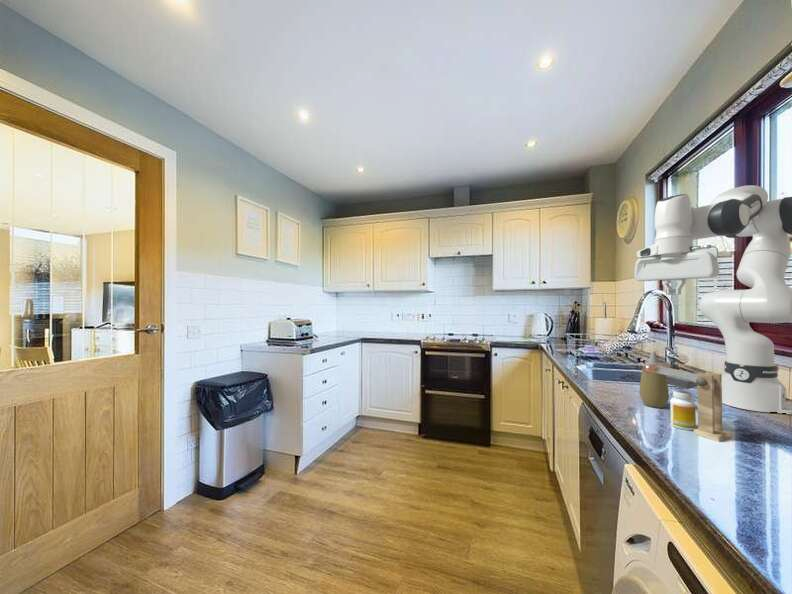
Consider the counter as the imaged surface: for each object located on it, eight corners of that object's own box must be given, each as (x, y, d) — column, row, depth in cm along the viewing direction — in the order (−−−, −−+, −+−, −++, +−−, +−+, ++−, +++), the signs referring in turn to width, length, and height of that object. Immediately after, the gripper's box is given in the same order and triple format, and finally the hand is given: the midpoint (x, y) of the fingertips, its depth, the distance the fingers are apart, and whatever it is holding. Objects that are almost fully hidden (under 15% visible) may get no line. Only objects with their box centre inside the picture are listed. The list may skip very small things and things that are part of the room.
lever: (661, 374, 103) (662, 361, 103) (723, 390, 90) (724, 375, 90) (642, 377, 99) (643, 364, 99) (703, 394, 86) (705, 379, 86)
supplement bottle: (700, 431, 90) (700, 395, 90) (678, 430, 91) (677, 394, 91) (687, 424, 95) (687, 390, 95) (666, 422, 96) (665, 389, 96)
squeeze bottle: (633, 401, 116) (632, 350, 116) (657, 402, 116) (656, 350, 116) (650, 409, 108) (649, 354, 108) (676, 409, 108) (675, 354, 108)
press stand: (707, 429, 91) (706, 371, 91) (732, 436, 86) (730, 374, 86) (693, 434, 88) (692, 373, 88) (718, 441, 83) (717, 377, 83)
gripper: (723, 244, 92) (724, 294, 92) (643, 254, 111) (643, 295, 110) (712, 242, 89) (712, 294, 89) (631, 252, 108) (631, 295, 108)
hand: (673, 294), depth 100 cm, fingers closed
